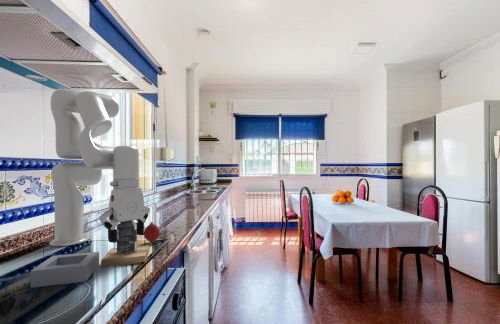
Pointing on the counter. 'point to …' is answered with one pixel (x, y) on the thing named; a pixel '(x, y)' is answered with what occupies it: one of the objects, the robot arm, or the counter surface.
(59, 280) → the socket collar
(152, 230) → the onion
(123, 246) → the pill bottle
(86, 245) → the counter surface
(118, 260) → the pad
